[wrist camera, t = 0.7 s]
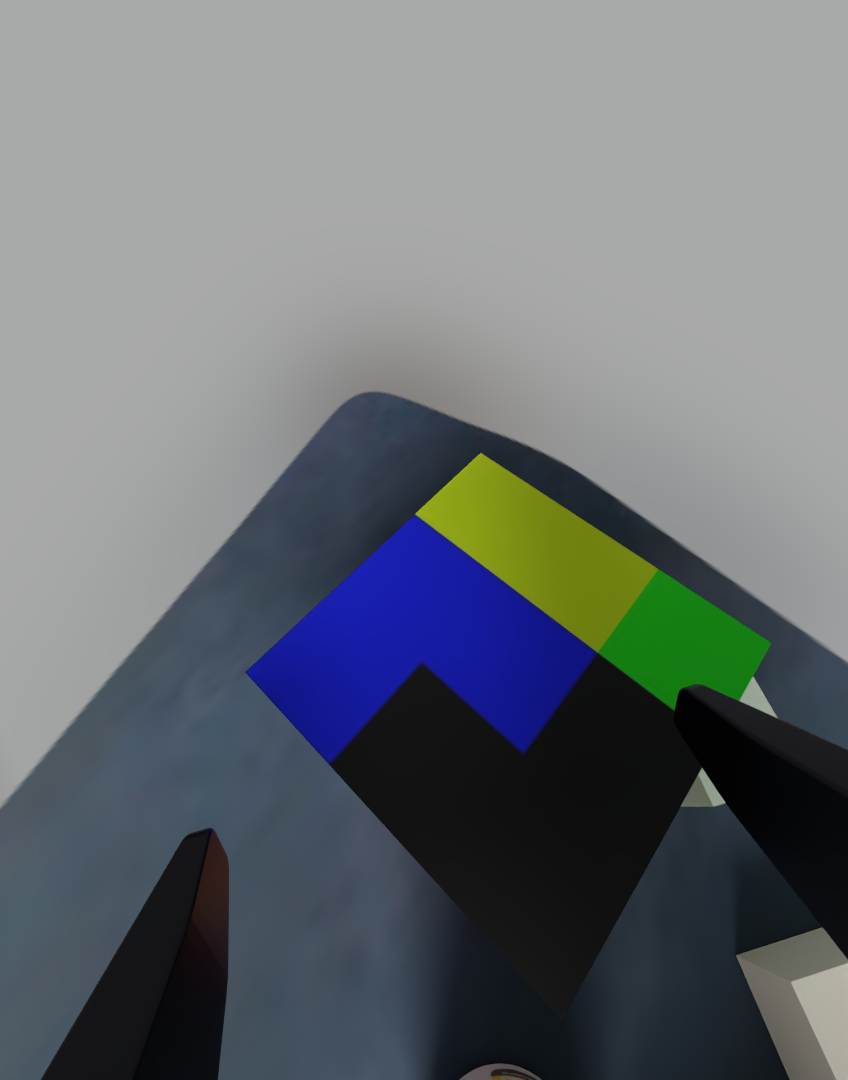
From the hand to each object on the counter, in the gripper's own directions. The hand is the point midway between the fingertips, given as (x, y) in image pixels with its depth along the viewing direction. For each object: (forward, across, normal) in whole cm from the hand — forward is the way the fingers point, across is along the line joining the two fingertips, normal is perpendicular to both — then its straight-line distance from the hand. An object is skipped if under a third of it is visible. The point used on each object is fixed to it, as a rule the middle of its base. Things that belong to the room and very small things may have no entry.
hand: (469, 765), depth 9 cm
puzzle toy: (+9, -3, +10) cm, 13 cm away
